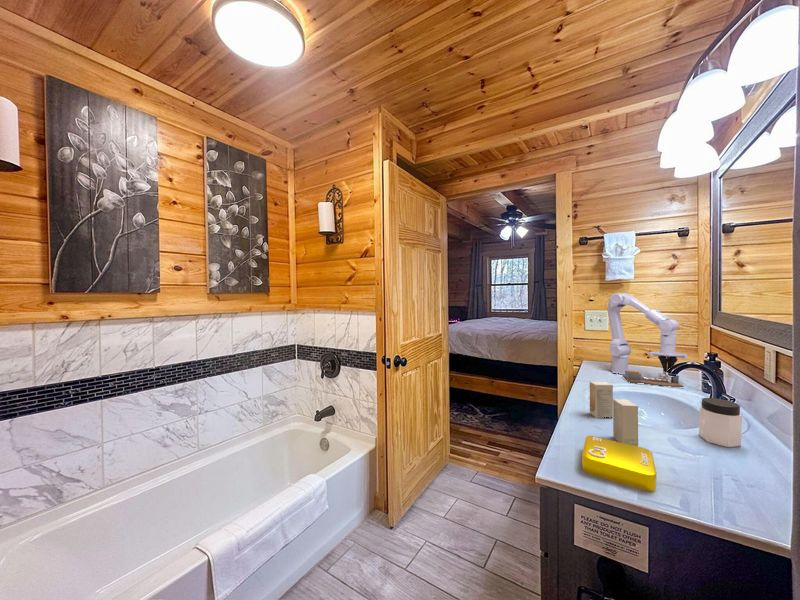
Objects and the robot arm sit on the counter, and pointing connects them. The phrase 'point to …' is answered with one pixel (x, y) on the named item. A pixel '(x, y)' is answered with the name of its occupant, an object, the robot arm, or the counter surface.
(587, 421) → the counter surface
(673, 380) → the keeper hook
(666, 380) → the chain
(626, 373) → the binder housing
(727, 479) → the counter surface
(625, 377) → the board
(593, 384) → the skincare box
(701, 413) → the jar
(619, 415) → the skincare box
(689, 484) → the counter surface
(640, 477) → the element tile
